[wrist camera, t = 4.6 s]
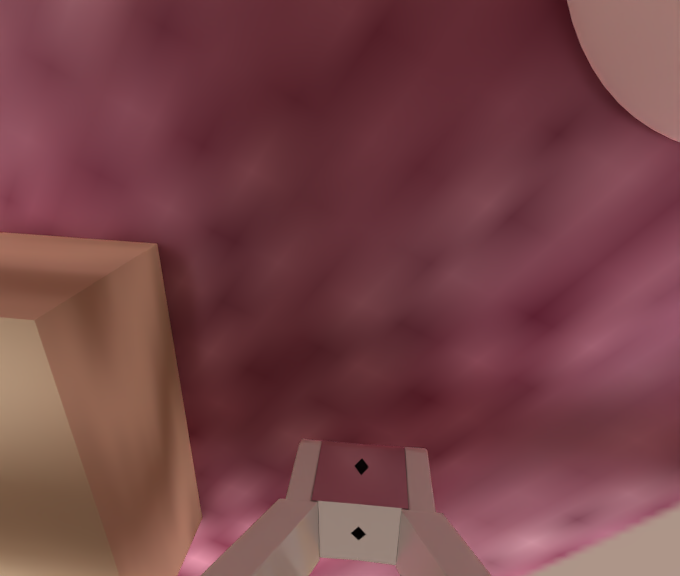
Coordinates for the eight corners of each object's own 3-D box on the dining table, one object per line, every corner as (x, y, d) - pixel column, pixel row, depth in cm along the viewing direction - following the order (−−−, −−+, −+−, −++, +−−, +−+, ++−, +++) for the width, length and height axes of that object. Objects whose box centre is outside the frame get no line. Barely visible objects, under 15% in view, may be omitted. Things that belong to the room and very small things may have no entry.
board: (-99, 221, 10) (-363, 285, 7) (163, 239, 10) (34, 320, 6) (20, 487, 14) (-101, 615, 11) (205, 509, 14) (144, 651, 10)
